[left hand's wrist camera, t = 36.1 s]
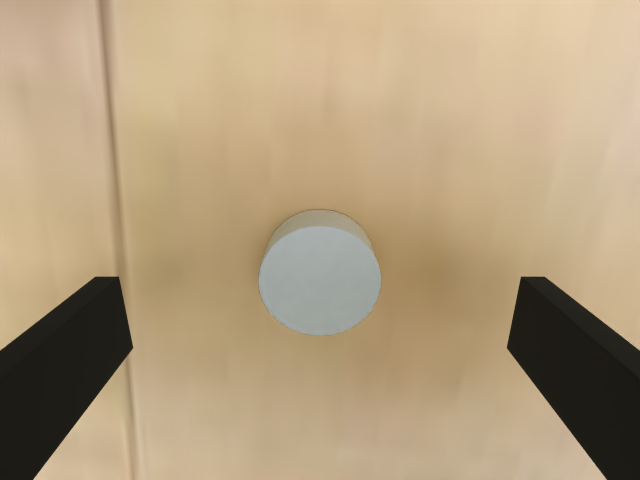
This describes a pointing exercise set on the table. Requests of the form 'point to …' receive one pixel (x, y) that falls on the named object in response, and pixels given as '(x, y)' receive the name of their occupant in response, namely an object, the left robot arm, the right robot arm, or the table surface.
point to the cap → (319, 273)
